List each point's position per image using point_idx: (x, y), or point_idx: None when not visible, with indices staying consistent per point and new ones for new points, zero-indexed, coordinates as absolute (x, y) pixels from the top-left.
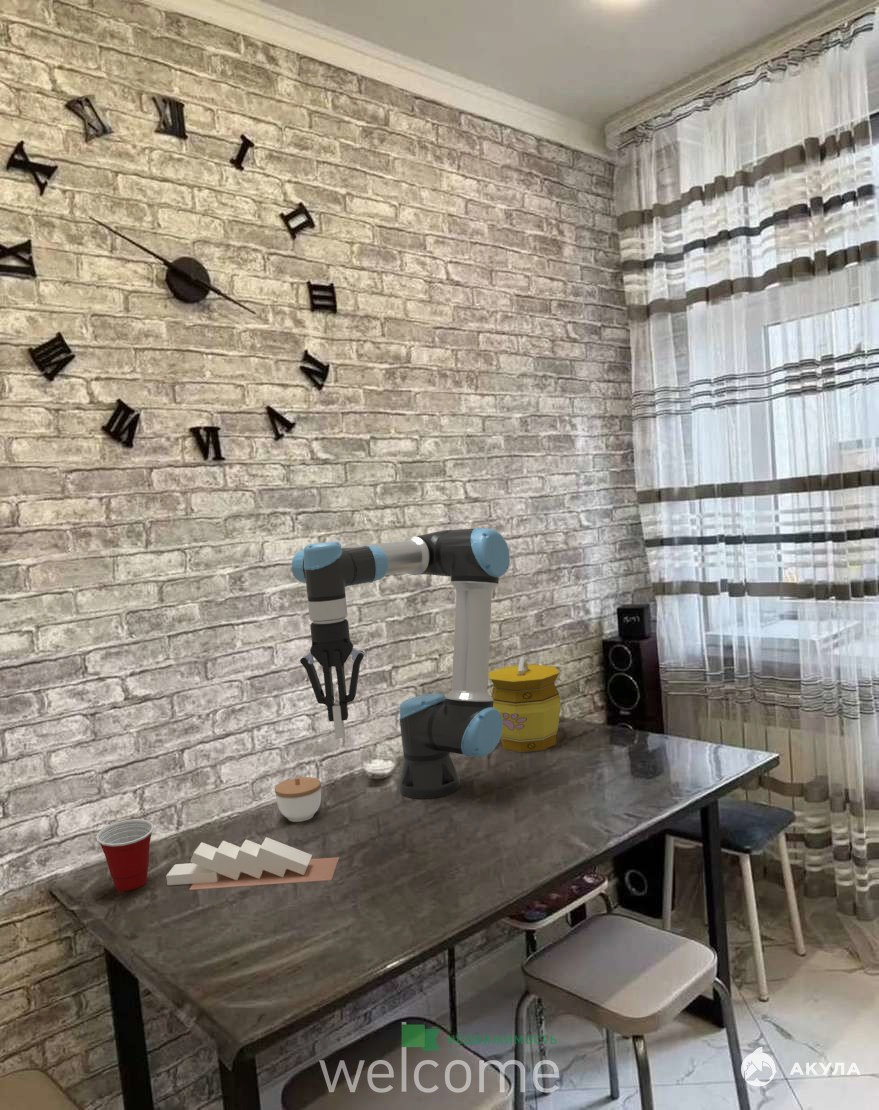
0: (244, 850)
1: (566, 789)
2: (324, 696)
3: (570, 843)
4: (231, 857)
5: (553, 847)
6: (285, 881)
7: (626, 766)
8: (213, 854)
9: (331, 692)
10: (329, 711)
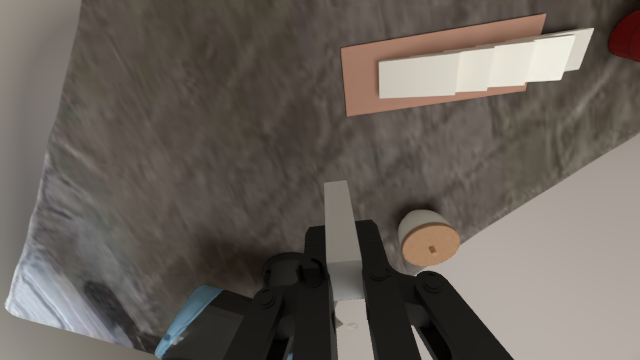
0: (484, 54)
1: (155, 265)
2: (416, 322)
3: (89, 154)
4: (502, 45)
5: (102, 145)
6: (404, 42)
7: (122, 301)
8: (532, 59)
9: (373, 334)
10: (375, 247)
